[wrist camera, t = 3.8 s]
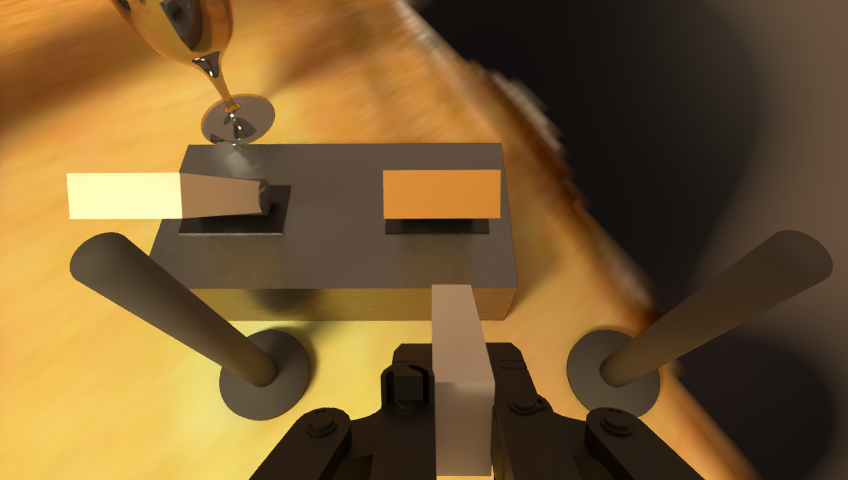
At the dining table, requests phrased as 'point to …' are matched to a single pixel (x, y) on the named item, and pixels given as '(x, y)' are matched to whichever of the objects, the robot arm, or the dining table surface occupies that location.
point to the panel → (337, 236)
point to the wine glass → (201, 59)
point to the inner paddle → (164, 196)
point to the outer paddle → (441, 194)
